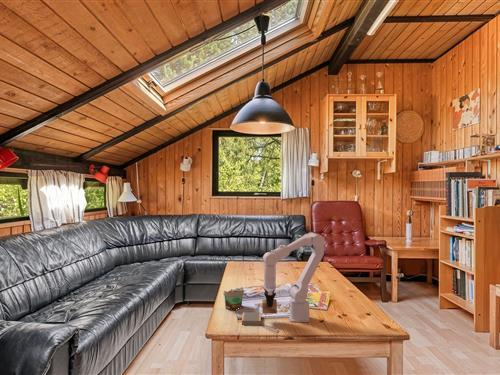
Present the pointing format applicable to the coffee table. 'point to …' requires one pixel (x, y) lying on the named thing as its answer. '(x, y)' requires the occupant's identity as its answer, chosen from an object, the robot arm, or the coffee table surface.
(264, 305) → the brown block
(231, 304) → the food container
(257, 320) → the dock
